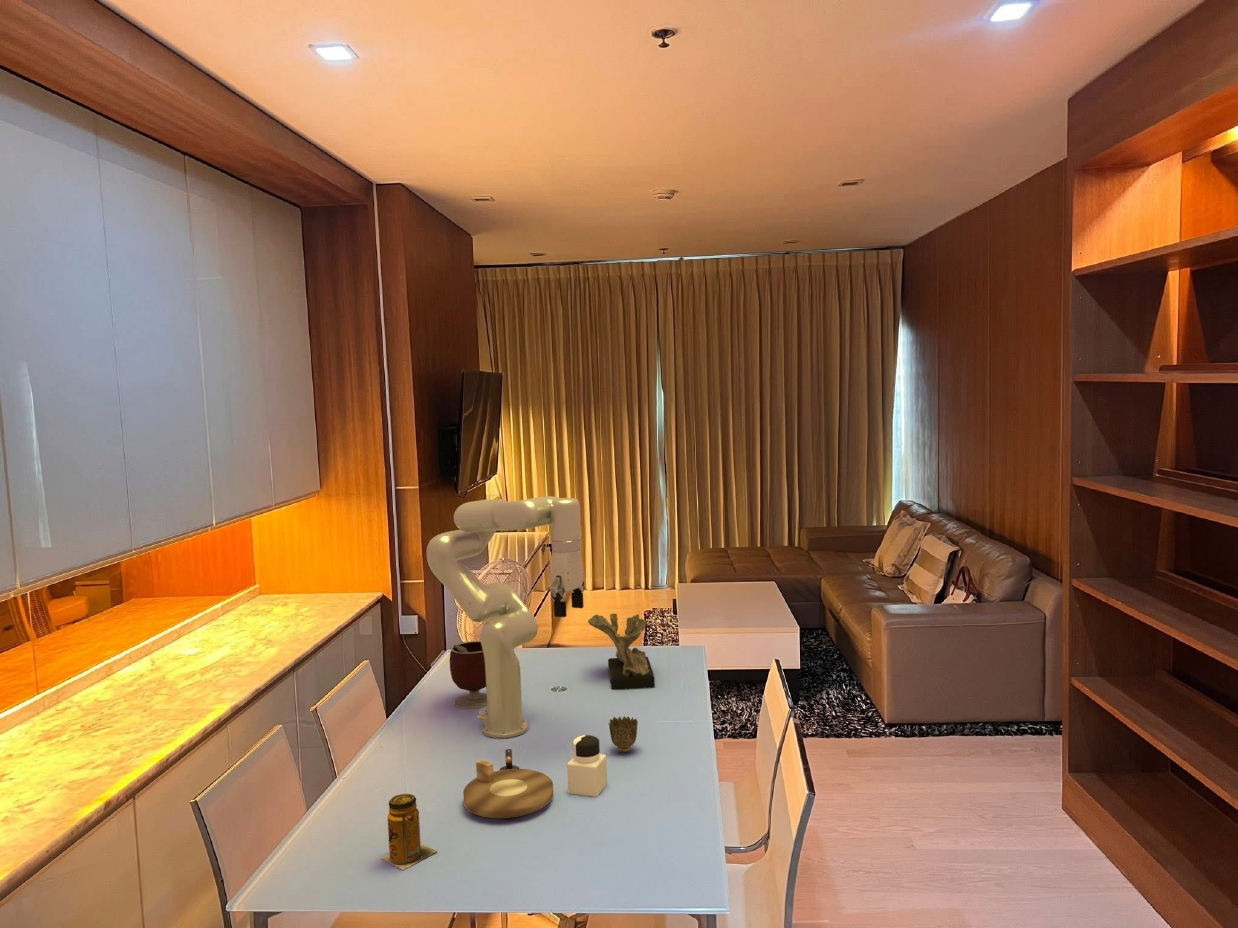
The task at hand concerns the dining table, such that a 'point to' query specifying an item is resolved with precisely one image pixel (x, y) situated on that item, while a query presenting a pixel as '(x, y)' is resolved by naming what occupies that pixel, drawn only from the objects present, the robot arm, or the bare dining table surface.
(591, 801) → the dining table surface
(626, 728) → the brown textured pot
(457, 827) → the dining table surface
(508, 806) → the disc
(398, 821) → the condiment
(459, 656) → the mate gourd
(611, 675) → the coral
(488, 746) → the dining table surface
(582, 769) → the medicine bottle
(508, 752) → the joystick
